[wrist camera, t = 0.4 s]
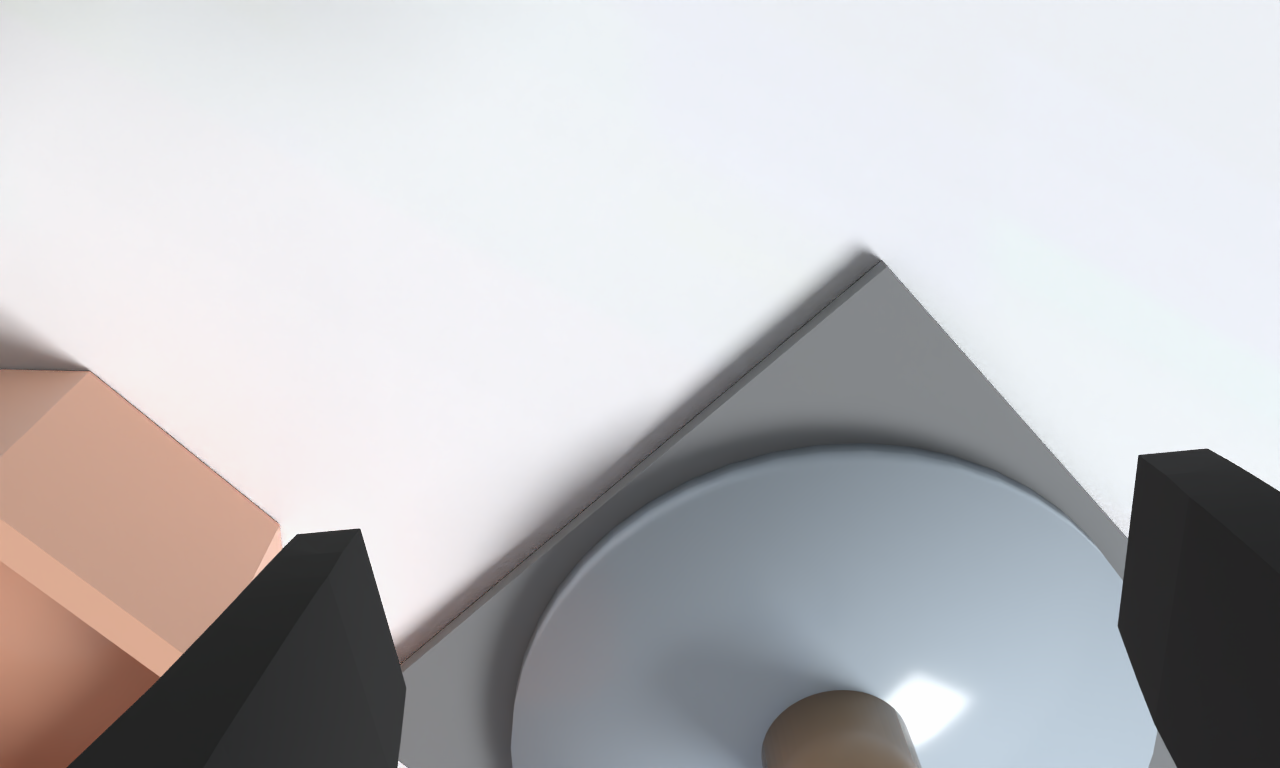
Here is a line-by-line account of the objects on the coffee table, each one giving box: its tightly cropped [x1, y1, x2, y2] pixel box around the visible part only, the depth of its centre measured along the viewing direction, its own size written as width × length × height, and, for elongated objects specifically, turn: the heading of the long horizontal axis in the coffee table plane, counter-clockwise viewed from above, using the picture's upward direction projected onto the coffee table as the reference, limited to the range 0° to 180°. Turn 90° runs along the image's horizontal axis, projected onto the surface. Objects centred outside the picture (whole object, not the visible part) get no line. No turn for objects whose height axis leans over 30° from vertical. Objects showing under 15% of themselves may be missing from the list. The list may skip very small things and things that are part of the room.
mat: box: [398, 260, 1177, 768], centre depth 24 cm, size 14×14×1 cm
